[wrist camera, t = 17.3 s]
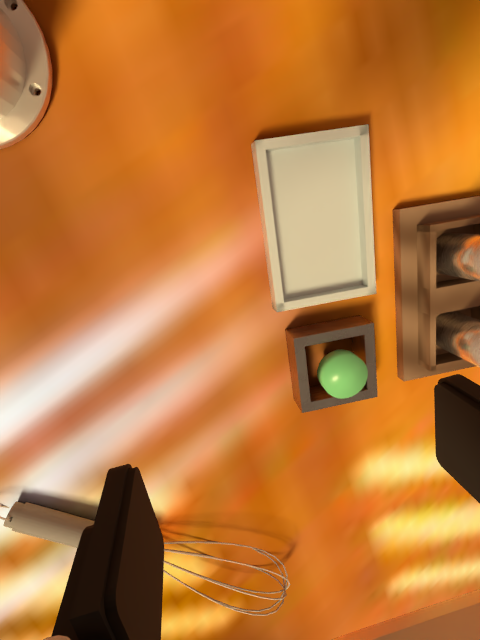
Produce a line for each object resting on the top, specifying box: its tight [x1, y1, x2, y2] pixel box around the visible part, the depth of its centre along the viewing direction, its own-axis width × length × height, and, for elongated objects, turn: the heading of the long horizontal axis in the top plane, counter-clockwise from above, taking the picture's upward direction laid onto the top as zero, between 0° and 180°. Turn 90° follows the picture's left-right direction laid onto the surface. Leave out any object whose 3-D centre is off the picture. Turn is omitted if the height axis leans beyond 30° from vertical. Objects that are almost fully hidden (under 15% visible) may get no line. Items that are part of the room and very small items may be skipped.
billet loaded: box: [436, 311, 480, 367], centre depth 34 cm, size 4×4×8 cm
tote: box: [251, 124, 376, 312], centre depth 33 cm, size 15×10×2 cm, turn 9°
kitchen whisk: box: [0, 502, 290, 616], centre depth 39 cm, size 6×34×6 cm, turn 66°
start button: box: [317, 349, 368, 399], centre depth 35 cm, size 4×4×4 cm
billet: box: [436, 233, 480, 281], centre depth 32 cm, size 4×4×8 cm
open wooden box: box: [285, 315, 377, 413], centre depth 37 cm, size 8×8×3 cm
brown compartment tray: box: [393, 195, 480, 381], centre depth 37 cm, size 18×10×3 cm, turn 9°
